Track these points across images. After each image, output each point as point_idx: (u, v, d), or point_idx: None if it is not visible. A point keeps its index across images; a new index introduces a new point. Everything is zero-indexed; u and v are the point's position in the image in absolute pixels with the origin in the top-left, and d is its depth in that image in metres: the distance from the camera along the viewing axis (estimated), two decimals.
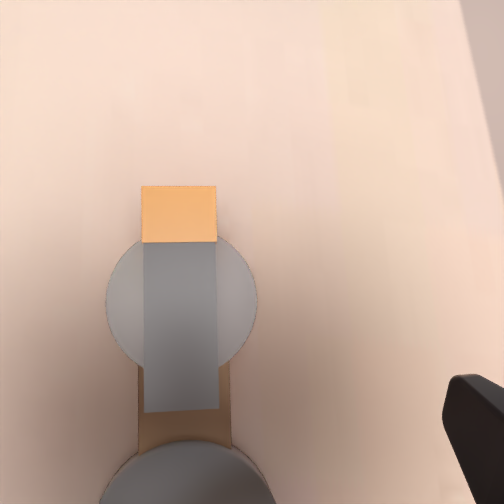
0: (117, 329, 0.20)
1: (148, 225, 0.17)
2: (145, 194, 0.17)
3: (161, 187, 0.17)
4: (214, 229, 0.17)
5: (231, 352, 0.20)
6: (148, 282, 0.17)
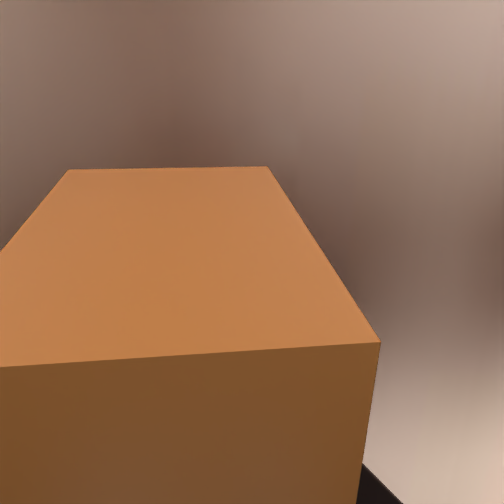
0: None
1: None
2: None
3: (43, 352, 0.03)
4: None
5: None
6: None
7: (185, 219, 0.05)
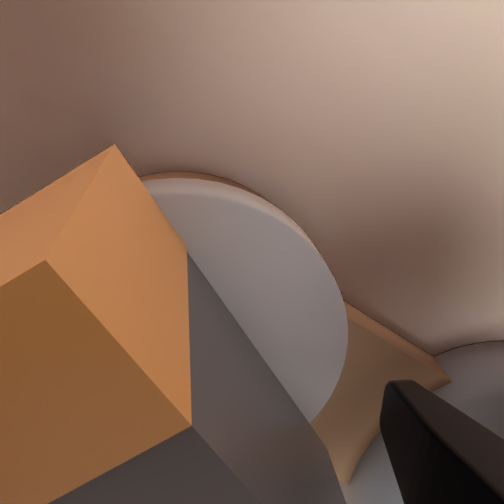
0: None
1: None
2: None
3: None
4: (157, 399, 0.04)
5: (328, 386, 0.10)
6: None
7: (13, 228, 0.06)
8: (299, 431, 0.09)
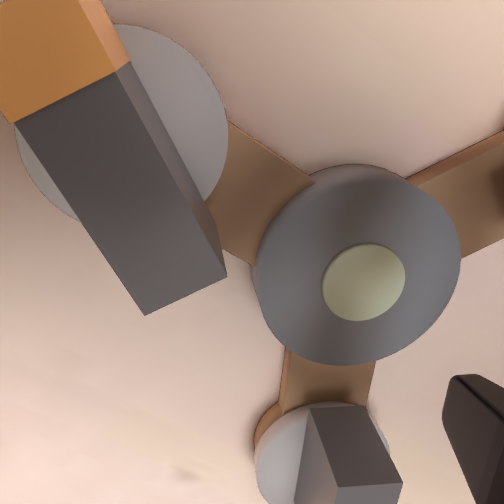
0: (68, 206, 0.15)
1: (4, 92, 0.10)
2: None
3: None
4: (102, 52, 0.10)
5: (216, 173, 0.16)
6: (57, 173, 0.11)
7: None
8: (191, 185, 0.15)
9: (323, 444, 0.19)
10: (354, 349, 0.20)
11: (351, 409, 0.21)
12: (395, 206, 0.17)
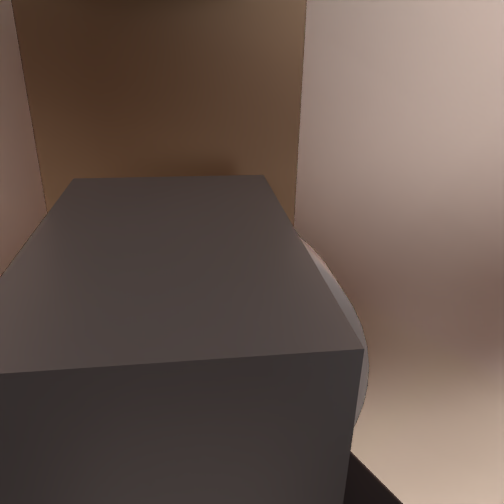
0: None
1: None
2: None
3: None
4: None
5: None
6: None
7: None
8: None
9: (31, 240, 0.04)
10: None
11: (216, 180, 0.06)
12: None
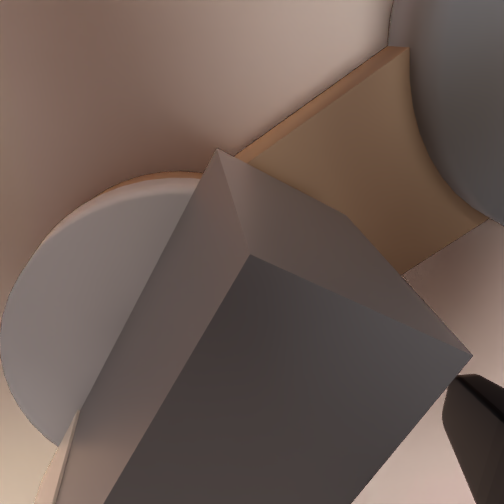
0: None
1: None
2: None
3: None
4: None
5: None
6: None
7: None
8: None
9: (231, 186, 0.06)
10: None
11: (317, 202, 0.08)
12: None
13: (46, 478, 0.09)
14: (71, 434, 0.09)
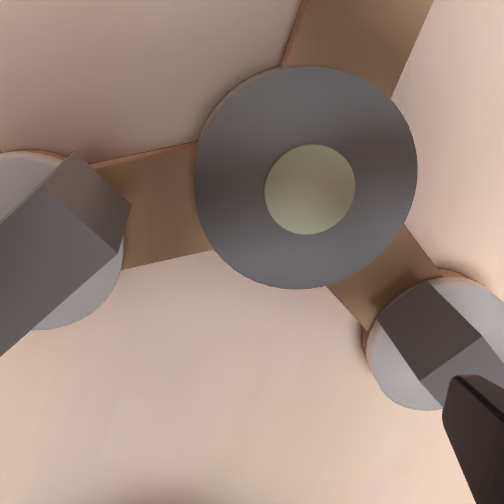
0: None
1: None
2: None
3: None
4: None
5: None
6: None
7: None
8: None
9: (60, 166, 0.13)
10: (221, 215, 0.17)
11: (116, 193, 0.16)
12: (392, 189, 0.17)
13: None
14: None
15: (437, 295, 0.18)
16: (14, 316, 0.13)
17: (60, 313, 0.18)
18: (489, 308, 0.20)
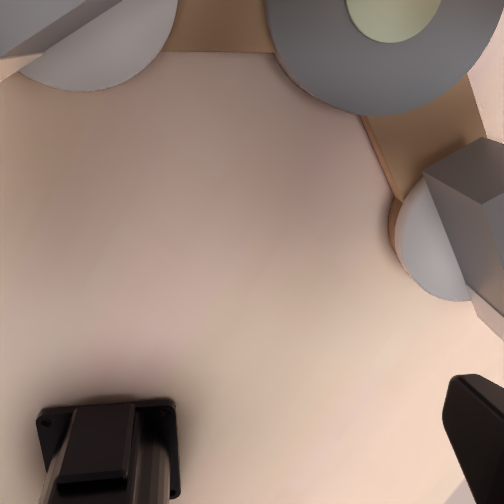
0: None
1: None
2: None
3: None
4: None
5: None
6: None
7: None
8: None
9: None
10: None
11: None
12: (476, 15, 0.16)
13: None
14: None
15: (497, 144, 0.17)
16: None
17: (90, 74, 0.15)
18: None
